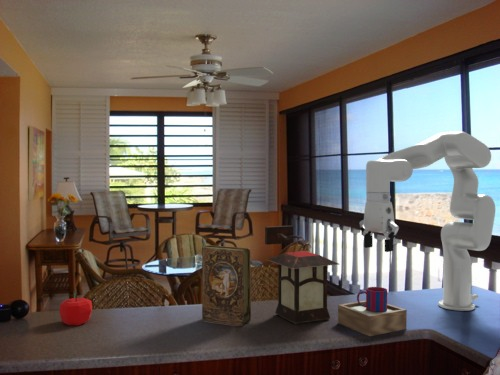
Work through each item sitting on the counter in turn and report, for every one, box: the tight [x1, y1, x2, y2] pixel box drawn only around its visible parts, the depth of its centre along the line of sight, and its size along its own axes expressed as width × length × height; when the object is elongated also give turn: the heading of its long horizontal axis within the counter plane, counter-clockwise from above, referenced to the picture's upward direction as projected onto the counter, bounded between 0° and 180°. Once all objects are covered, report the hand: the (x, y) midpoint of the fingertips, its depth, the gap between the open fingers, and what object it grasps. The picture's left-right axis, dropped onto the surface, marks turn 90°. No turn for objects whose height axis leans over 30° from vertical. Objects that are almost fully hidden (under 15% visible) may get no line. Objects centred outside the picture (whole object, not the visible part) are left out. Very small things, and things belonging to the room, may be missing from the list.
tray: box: [337, 300, 408, 337], centre depth 168 cm, size 15×15×6 cm
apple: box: [59, 292, 93, 326], centre depth 172 cm, size 11×11×10 cm
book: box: [201, 245, 252, 327], centre depth 173 cm, size 16×6×25 cm, turn 65°
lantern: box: [264, 225, 340, 325], centre depth 181 cm, size 18×26×30 cm
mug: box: [356, 286, 388, 312], centre depth 169 cm, size 7×10×7 cm
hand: (378, 249), depth 170 cm, fingers open, 9 cm apart
